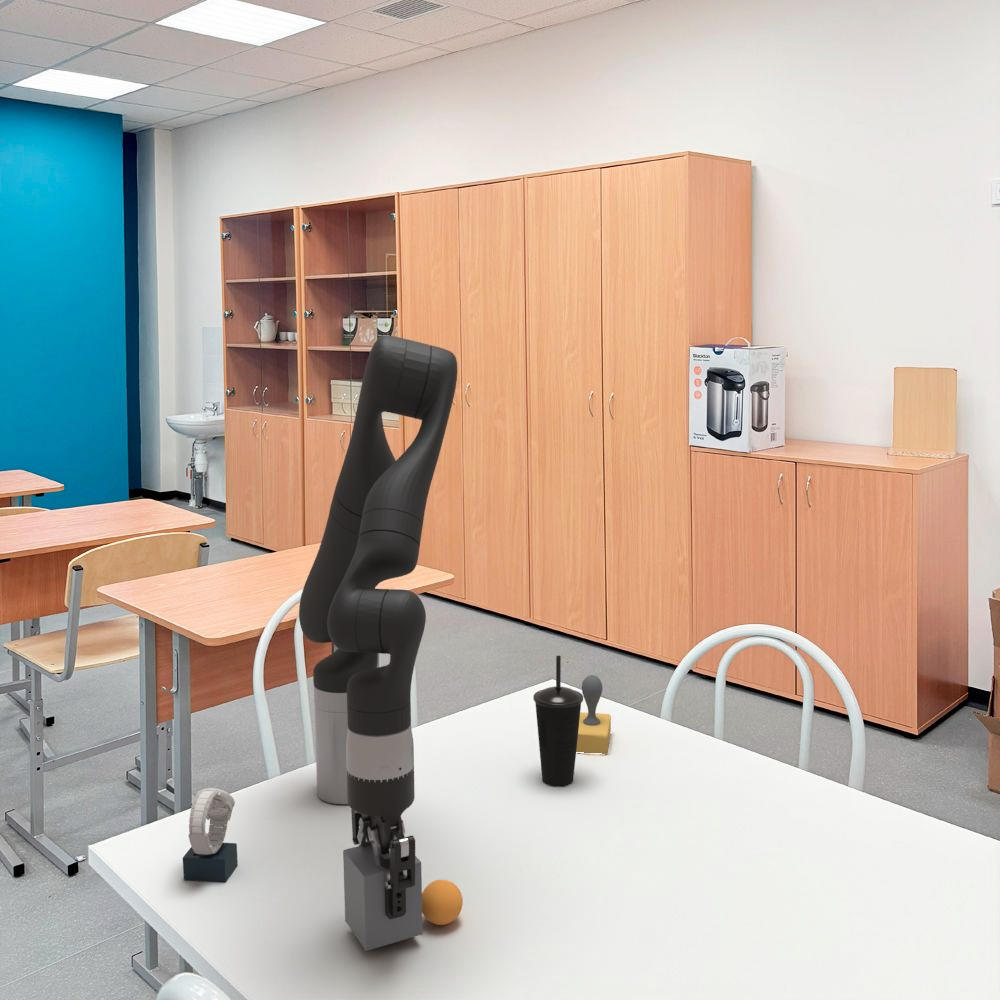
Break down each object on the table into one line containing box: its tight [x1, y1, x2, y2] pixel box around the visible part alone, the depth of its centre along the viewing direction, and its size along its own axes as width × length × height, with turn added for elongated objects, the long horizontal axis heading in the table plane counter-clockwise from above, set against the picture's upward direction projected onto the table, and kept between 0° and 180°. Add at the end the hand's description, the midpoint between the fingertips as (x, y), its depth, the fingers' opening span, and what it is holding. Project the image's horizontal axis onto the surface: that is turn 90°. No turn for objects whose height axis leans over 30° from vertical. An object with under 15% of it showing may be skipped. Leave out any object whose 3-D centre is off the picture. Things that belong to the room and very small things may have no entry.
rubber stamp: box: [576, 674, 612, 755], centre depth 176 cm, size 10×6×12 cm, turn 171°
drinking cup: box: [533, 655, 584, 787], centre depth 161 cm, size 8×8×20 cm
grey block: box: [342, 845, 423, 952], centre depth 119 cm, size 7×7×9 cm
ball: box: [422, 879, 464, 926], centre depth 123 cm, size 5×5×5 cm
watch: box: [182, 787, 239, 883], centre depth 134 cm, size 6×8×11 cm
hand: (383, 900), depth 120 cm, fingers closed on grey block, 7 cm apart
